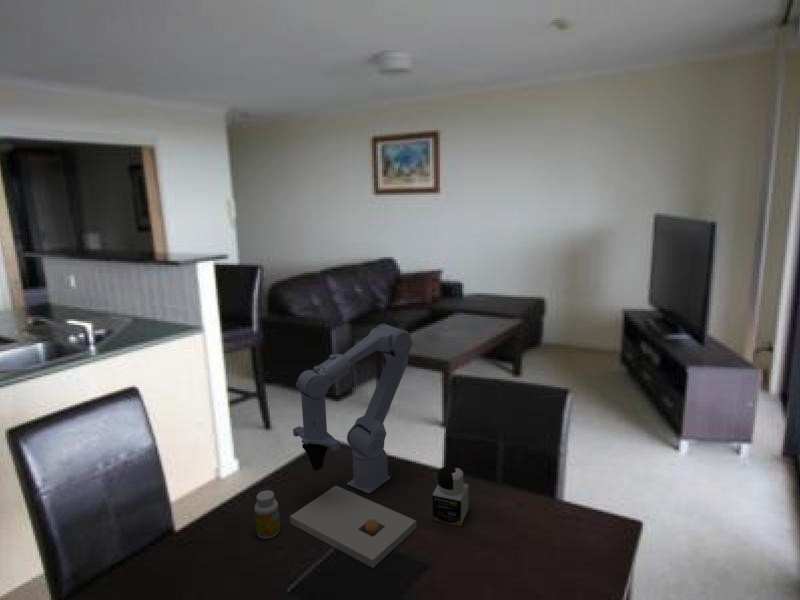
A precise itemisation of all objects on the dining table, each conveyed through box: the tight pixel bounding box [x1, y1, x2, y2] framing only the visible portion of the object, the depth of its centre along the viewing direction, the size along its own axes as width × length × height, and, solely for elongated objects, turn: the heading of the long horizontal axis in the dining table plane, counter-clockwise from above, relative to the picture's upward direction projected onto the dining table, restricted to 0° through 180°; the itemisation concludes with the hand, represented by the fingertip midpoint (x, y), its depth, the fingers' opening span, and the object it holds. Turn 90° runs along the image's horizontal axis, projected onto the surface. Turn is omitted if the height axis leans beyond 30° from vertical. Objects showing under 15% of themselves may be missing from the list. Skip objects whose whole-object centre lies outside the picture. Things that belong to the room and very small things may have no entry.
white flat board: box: [289, 485, 417, 569], centre depth 123 cm, size 26×16×2 cm, turn 53°
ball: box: [364, 519, 380, 537], centre depth 120 cm, size 4×4×4 cm
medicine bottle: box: [432, 465, 469, 527], centre depth 125 cm, size 7×7×12 cm
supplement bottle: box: [253, 489, 281, 539], centre depth 121 cm, size 5×5×10 cm
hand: (317, 468), depth 130 cm, fingers closed
